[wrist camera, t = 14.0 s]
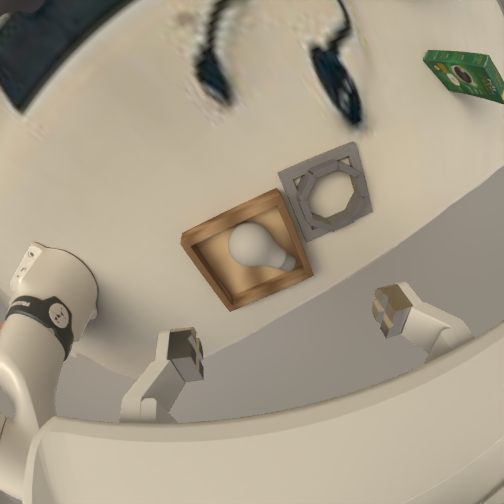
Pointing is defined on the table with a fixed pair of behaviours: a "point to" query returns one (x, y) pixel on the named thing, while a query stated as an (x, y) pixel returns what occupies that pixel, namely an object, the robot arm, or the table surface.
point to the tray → (232, 273)
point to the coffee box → (467, 73)
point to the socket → (310, 173)
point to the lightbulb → (258, 248)
